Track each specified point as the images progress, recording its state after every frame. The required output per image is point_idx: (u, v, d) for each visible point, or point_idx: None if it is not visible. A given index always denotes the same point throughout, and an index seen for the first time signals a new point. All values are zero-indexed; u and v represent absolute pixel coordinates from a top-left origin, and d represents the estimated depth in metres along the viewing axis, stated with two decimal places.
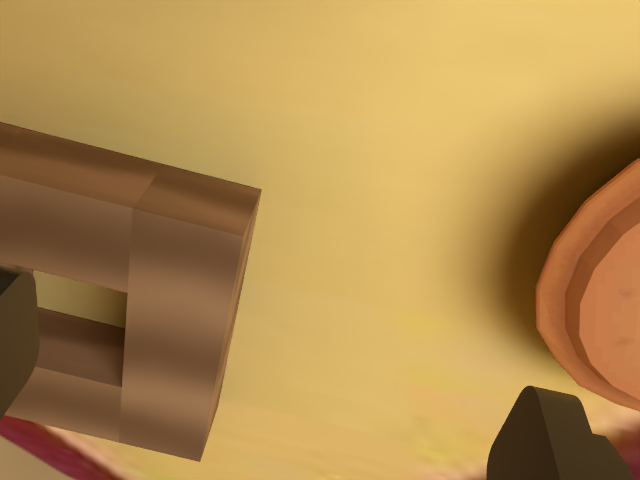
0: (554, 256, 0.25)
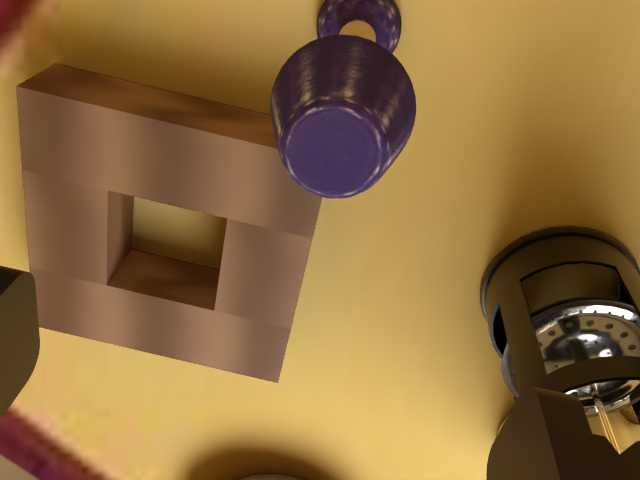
0: None
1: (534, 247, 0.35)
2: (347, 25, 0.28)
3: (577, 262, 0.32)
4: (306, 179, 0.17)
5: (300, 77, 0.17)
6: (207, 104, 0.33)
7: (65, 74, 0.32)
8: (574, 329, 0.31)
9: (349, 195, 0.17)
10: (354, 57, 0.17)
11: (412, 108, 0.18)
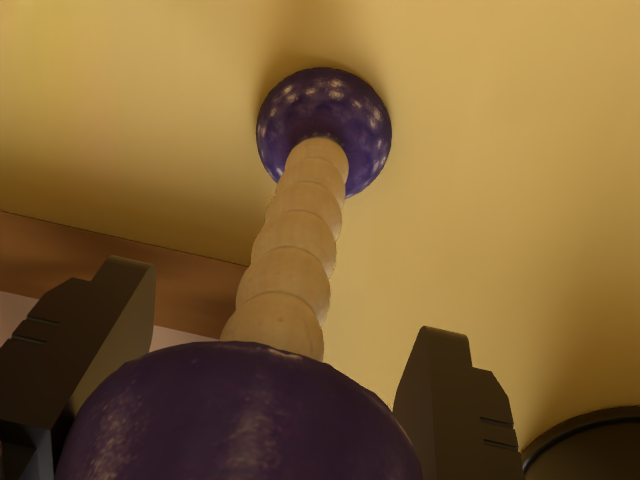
0: None
1: (595, 441, 0.23)
2: (299, 149, 0.16)
3: None
4: None
5: None
6: (96, 243, 0.21)
7: None
8: None
9: None
10: (240, 476, 0.06)
11: None
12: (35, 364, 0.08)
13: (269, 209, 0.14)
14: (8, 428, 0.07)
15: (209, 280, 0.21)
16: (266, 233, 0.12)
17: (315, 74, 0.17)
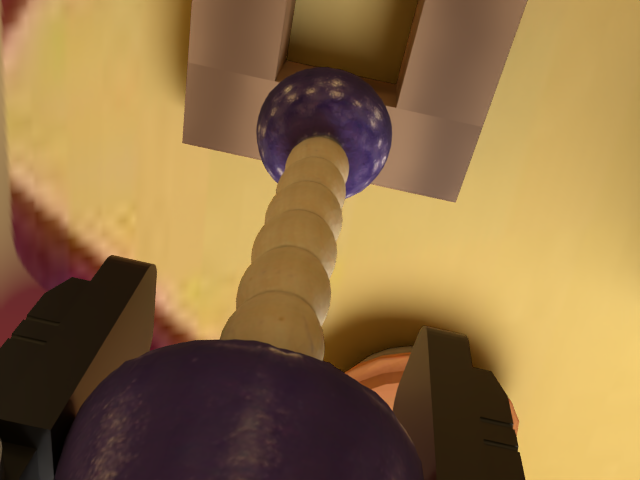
0: None
1: None
2: (299, 149, 0.16)
3: None
4: None
5: None
6: None
7: None
8: None
9: None
10: (241, 474, 0.06)
11: None
12: (35, 364, 0.08)
13: (269, 208, 0.14)
14: (8, 428, 0.07)
15: None
16: (266, 232, 0.12)
17: (315, 74, 0.17)
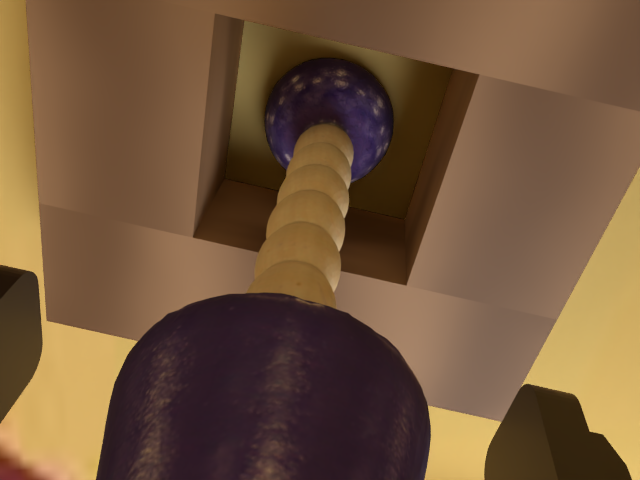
0: None
1: None
2: (307, 135, 0.17)
3: None
4: None
5: (136, 461, 0.07)
6: None
7: None
8: None
9: None
10: (277, 398, 0.07)
11: (424, 459, 0.08)
12: None
13: (281, 189, 0.15)
14: None
15: None
16: (280, 210, 0.13)
17: (321, 65, 0.18)
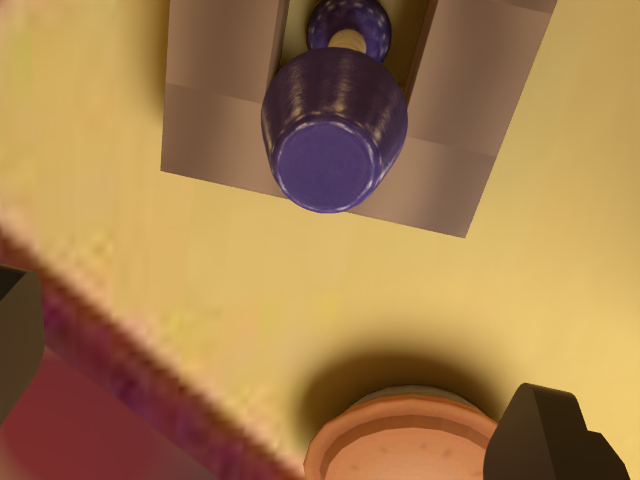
0: (440, 405, 0.38)
1: None
2: (337, 34, 0.28)
3: None
4: (298, 194, 0.16)
5: (290, 91, 0.17)
6: None
7: None
8: None
9: (342, 210, 0.17)
10: (344, 70, 0.17)
11: (404, 120, 0.18)
12: None
13: None
14: None
15: None
16: None
17: None
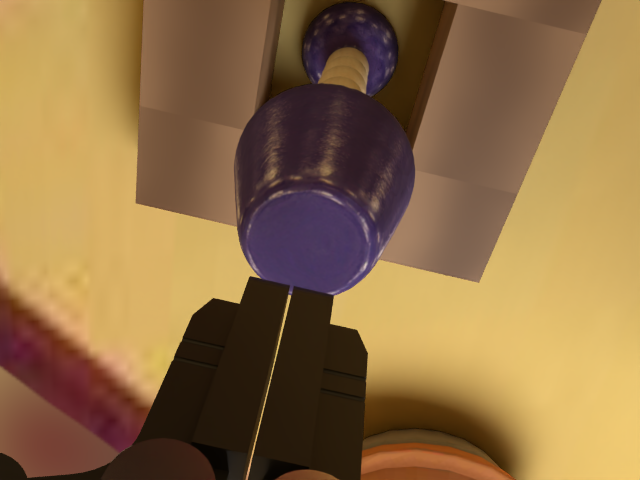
0: (447, 457, 0.35)
1: None
2: (335, 53, 0.24)
3: None
4: (274, 276, 0.13)
5: (266, 143, 0.13)
6: None
7: None
8: None
9: None
10: (335, 116, 0.13)
11: (410, 175, 0.15)
12: (215, 388, 0.08)
13: (320, 80, 0.21)
14: (205, 452, 0.07)
15: None
16: None
17: (345, 6, 0.25)
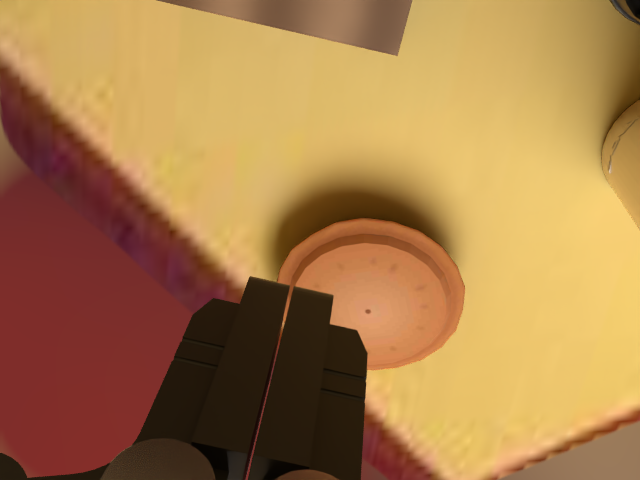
0: (387, 224, 0.46)
1: None
2: None
3: None
4: None
5: None
6: None
7: None
8: None
9: None
10: None
11: None
12: (215, 388, 0.08)
13: None
14: (205, 452, 0.07)
15: None
16: None
17: None
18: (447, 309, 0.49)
